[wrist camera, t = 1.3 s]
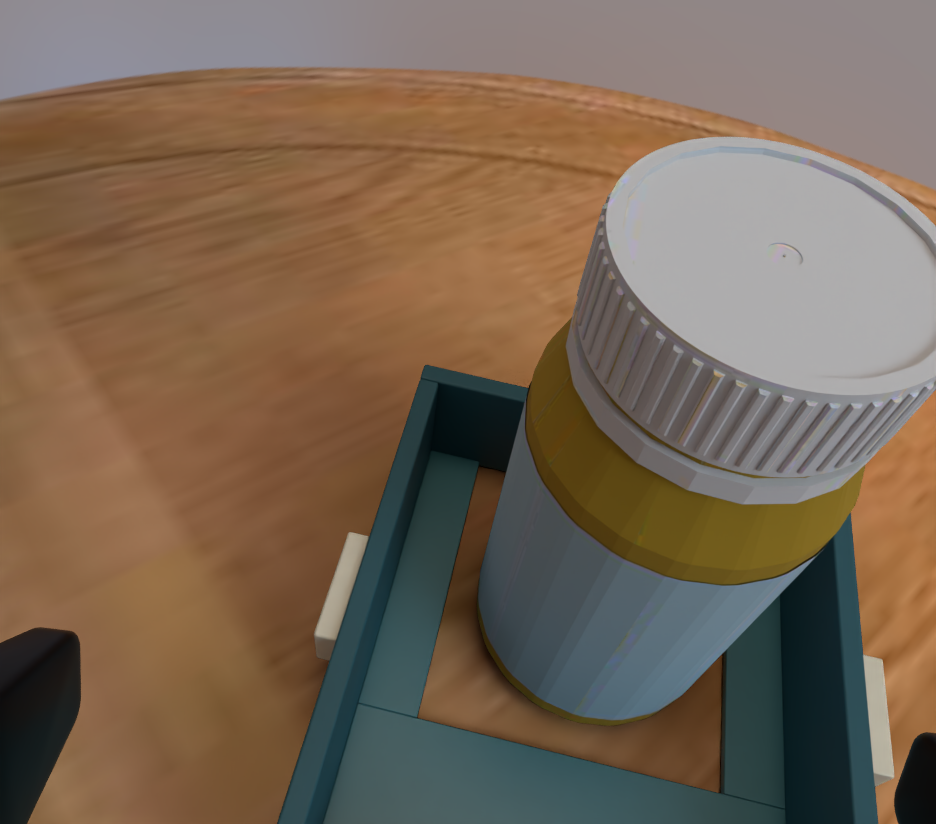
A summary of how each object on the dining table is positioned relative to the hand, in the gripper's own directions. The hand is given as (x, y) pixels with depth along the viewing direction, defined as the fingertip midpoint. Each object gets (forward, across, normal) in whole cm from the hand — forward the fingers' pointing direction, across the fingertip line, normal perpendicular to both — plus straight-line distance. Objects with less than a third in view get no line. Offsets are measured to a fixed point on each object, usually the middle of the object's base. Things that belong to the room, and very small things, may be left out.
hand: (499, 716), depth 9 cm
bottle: (+15, -4, +8) cm, 17 cm away
